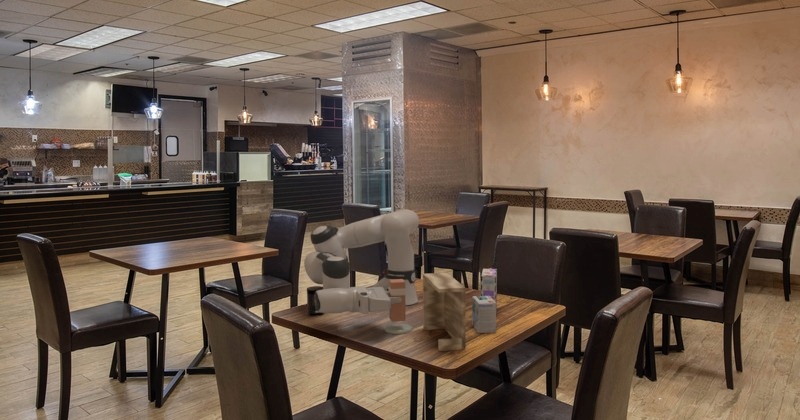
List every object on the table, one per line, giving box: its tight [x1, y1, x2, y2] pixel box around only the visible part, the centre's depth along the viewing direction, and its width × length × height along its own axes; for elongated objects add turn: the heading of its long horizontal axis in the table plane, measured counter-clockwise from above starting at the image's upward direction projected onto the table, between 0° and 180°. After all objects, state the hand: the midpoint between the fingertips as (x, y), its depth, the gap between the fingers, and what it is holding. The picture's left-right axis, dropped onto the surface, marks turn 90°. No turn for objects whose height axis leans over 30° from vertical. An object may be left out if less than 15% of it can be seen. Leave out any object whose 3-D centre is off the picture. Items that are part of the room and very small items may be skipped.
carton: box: [388, 279, 406, 323], centre depth 203 cm, size 5×5×14 cm
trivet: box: [383, 323, 413, 335], centre depth 204 cm, size 10×10×1 cm
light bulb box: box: [471, 295, 497, 334], centre depth 204 cm, size 11×7×11 cm, turn 5°
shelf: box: [422, 272, 467, 352], centre depth 193 cm, size 9×23×20 cm, turn 10°
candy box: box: [480, 268, 498, 310], centre depth 224 cm, size 14×6×16 cm, turn 168°
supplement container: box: [306, 285, 324, 316], centre depth 225 cm, size 7×7×10 cm
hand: (399, 297), depth 203 cm, fingers closed on carton, 5 cm apart
